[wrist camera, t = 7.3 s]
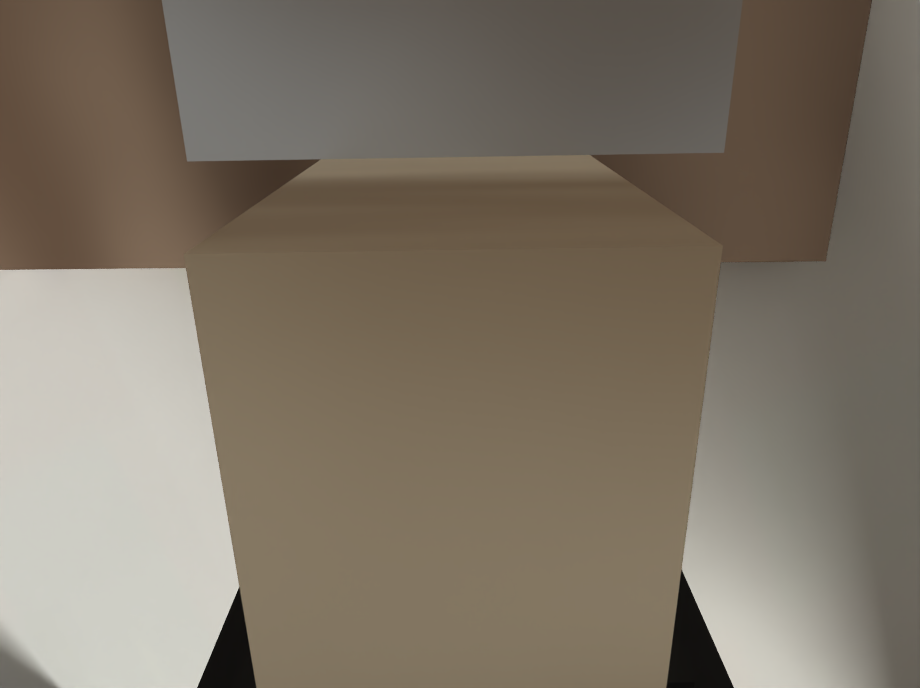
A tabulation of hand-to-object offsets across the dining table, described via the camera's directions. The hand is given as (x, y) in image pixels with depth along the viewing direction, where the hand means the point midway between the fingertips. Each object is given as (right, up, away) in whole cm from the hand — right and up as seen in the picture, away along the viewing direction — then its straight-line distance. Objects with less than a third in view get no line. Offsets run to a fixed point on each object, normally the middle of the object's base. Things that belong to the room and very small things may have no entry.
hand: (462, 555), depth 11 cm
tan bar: (0, +3, -1) cm, 3 cm away
